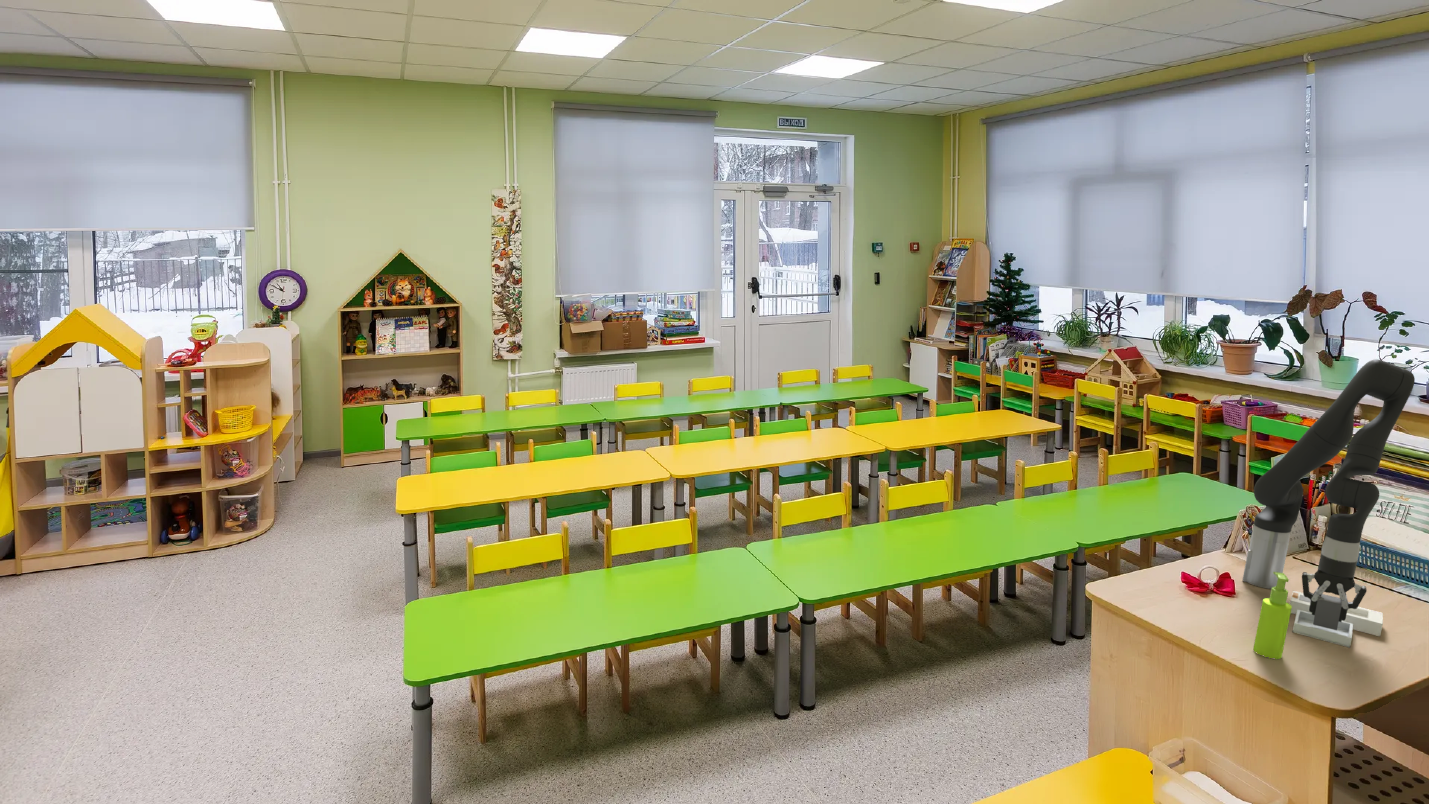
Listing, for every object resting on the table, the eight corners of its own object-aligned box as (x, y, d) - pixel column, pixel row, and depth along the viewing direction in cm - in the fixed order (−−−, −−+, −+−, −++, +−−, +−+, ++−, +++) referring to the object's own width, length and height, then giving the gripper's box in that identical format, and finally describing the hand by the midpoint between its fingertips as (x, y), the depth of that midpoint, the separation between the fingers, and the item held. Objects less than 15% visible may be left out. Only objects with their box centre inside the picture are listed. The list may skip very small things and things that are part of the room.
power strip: (1287, 612, 231) (1290, 598, 230) (1290, 602, 238) (1293, 588, 237) (1379, 636, 219) (1383, 621, 218) (1380, 624, 226) (1383, 610, 225)
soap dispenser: (1276, 648, 209) (1291, 572, 205) (1284, 661, 202) (1300, 583, 198) (1249, 643, 211) (1264, 568, 207) (1256, 656, 204) (1271, 578, 200)
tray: (1292, 632, 219) (1294, 623, 218) (1295, 618, 227) (1297, 609, 227) (1349, 647, 211) (1351, 638, 211) (1350, 632, 220) (1352, 623, 220)
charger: (1313, 624, 218) (1317, 599, 217) (1314, 615, 224) (1318, 590, 222) (1336, 630, 215) (1341, 604, 214) (1337, 621, 221) (1342, 596, 219)
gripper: (1304, 551, 216) (1292, 613, 220) (1374, 567, 208) (1360, 631, 211) (1306, 544, 222) (1294, 604, 226) (1374, 558, 214) (1361, 621, 217)
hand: (1326, 617), depth 218 cm, fingers closed on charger, 5 cm apart
